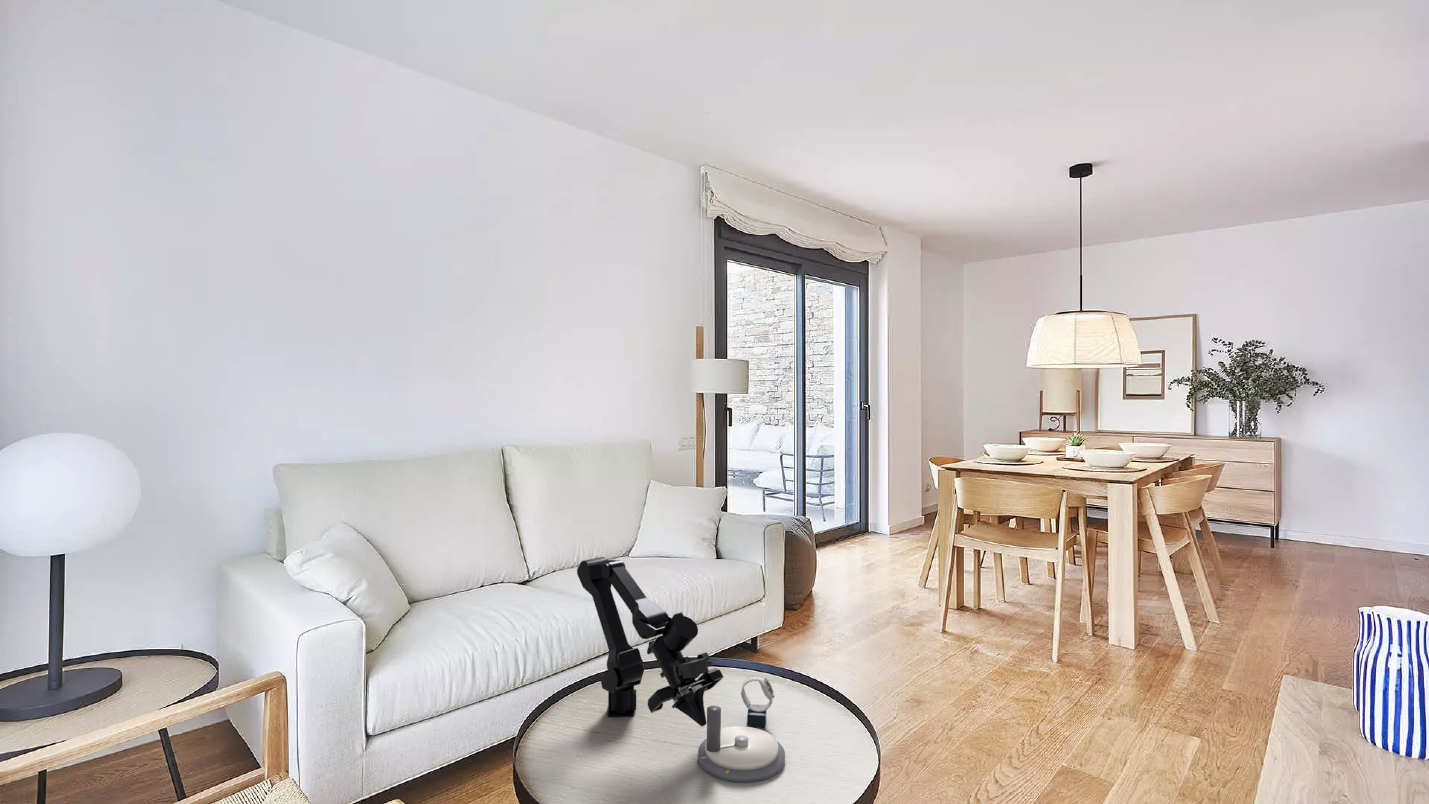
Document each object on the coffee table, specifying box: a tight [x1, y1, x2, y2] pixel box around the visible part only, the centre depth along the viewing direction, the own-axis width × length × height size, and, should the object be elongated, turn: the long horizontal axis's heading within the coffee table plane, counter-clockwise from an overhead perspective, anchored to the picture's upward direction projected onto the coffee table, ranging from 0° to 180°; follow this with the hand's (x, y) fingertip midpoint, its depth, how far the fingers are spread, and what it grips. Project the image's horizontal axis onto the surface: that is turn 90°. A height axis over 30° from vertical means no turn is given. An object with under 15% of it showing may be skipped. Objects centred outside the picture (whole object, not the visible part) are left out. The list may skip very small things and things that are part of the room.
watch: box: [740, 675, 775, 730], centre depth 177 cm, size 6×8×11 cm
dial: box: [705, 705, 779, 771], centre depth 160 cm, size 16×16×10 cm
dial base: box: [697, 738, 786, 784], centre depth 161 cm, size 19×19×2 cm
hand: (704, 725), depth 160 cm, fingers closed
